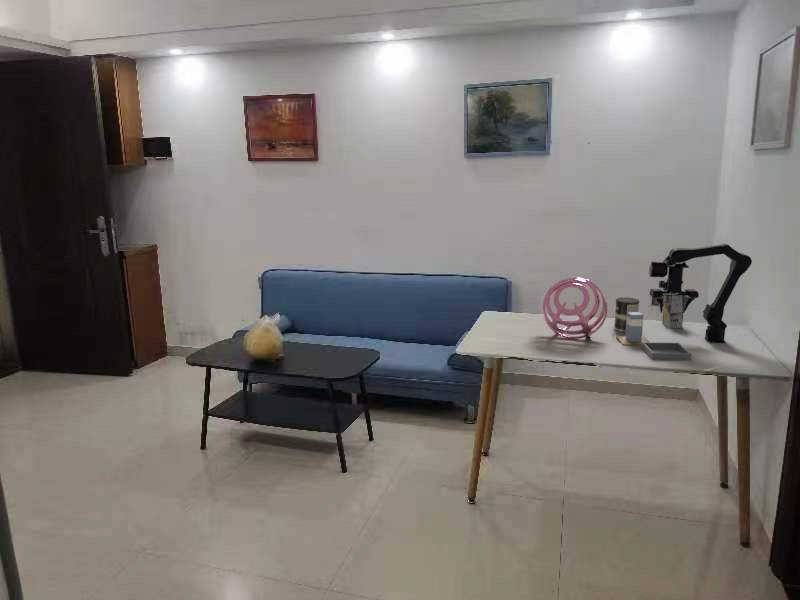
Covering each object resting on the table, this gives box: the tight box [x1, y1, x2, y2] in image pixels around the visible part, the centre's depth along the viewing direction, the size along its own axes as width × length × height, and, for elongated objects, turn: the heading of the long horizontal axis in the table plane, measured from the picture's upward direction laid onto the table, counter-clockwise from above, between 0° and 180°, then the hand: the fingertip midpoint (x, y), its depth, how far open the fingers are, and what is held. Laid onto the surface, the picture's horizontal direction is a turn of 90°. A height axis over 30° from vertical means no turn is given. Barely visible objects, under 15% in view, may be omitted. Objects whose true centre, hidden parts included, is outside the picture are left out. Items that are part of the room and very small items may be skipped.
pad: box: [615, 335, 650, 347], centre depth 253 cm, size 12×12×1 cm
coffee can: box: [613, 297, 640, 333], centre depth 273 cm, size 10×10×14 cm
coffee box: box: [661, 293, 684, 329], centre depth 277 cm, size 9×6×16 cm
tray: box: [641, 341, 692, 361], centre depth 236 cm, size 15×15×3 cm
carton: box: [625, 311, 644, 342], centre depth 252 cm, size 5×5×12 cm
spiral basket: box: [542, 277, 608, 340], centre depth 263 cm, size 28×28×27 cm
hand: (672, 312), depth 254 cm, fingers open, 9 cm apart
